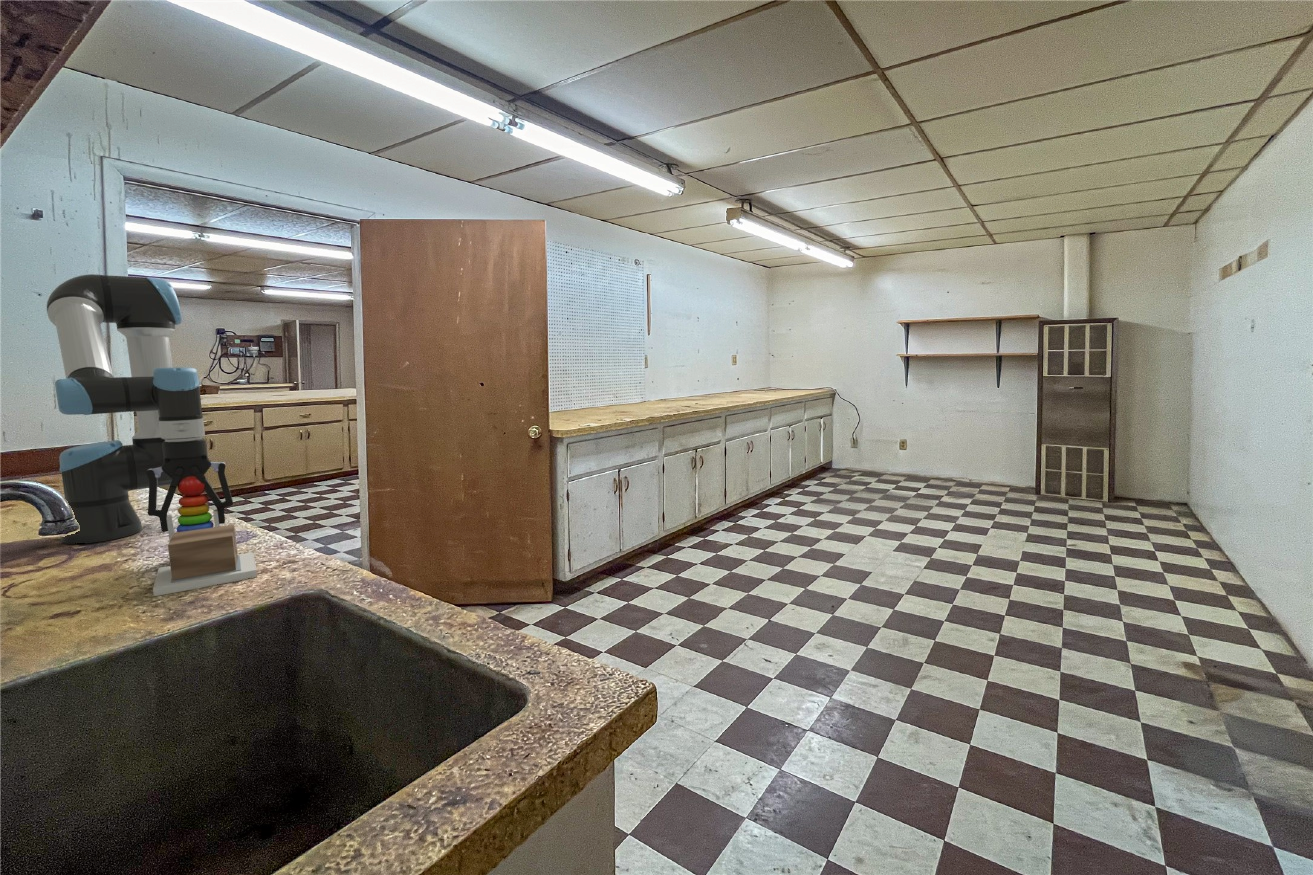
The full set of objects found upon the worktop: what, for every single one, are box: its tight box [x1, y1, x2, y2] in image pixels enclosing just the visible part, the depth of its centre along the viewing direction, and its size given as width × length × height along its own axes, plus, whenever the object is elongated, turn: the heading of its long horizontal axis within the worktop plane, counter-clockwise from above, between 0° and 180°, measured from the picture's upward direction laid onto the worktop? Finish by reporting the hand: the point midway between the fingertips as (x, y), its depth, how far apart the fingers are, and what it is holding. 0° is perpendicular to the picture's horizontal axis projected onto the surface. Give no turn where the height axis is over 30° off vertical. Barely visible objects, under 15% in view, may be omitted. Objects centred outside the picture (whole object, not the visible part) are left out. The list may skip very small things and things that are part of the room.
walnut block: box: [167, 524, 239, 581], centre depth 121 cm, size 10×10×7 cm
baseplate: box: [152, 551, 258, 597], centre depth 121 cm, size 14×16×2 cm
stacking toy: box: [176, 476, 215, 532], centre depth 132 cm, size 8×8×19 cm
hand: (196, 541), depth 133 cm, fingers closed on stacking toy, 7 cm apart
